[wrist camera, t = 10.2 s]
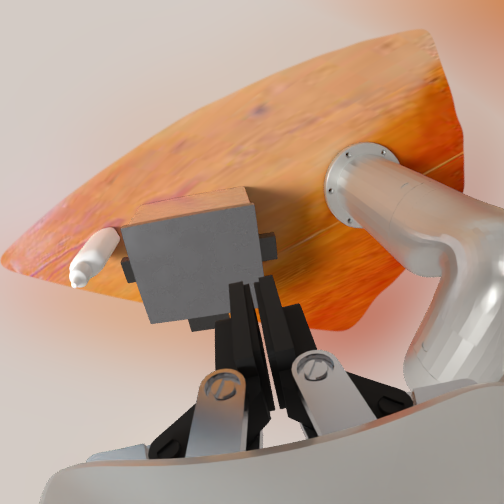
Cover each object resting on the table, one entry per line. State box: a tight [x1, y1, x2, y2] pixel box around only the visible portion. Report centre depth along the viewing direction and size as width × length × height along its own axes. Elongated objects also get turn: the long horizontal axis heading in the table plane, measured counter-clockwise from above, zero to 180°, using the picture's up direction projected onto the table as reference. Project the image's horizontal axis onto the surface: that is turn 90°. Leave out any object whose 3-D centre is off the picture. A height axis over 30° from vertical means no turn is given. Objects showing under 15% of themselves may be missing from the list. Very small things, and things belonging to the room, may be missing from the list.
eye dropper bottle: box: [69, 227, 120, 288], centre depth 36 cm, size 4×6×12 cm
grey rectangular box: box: [121, 186, 278, 283], centre depth 40 cm, size 19×12×8 cm, turn 97°
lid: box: [121, 202, 264, 332], centre depth 36 cm, size 15×15×1 cm
